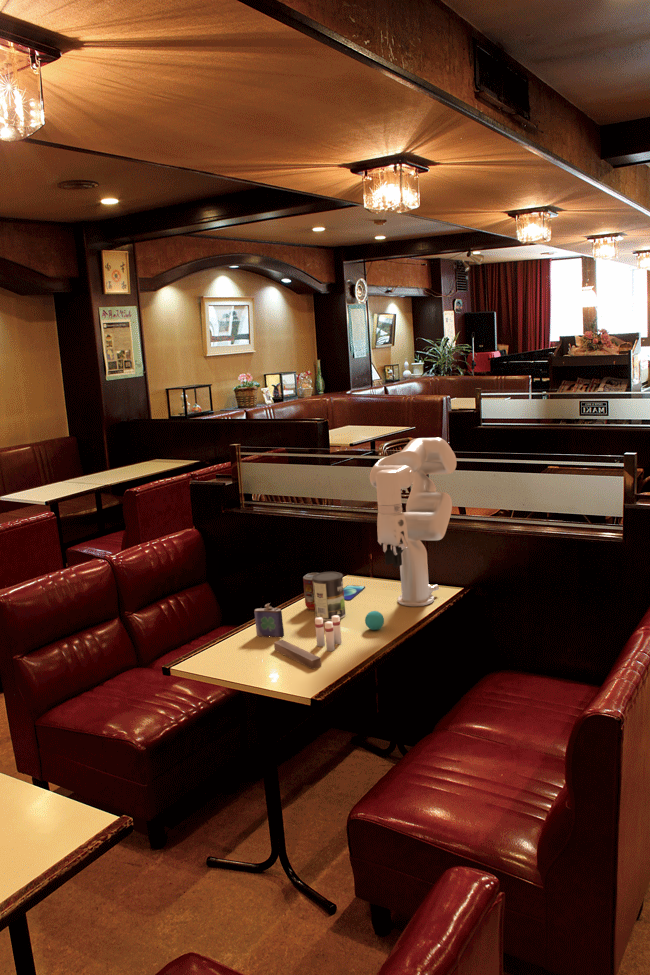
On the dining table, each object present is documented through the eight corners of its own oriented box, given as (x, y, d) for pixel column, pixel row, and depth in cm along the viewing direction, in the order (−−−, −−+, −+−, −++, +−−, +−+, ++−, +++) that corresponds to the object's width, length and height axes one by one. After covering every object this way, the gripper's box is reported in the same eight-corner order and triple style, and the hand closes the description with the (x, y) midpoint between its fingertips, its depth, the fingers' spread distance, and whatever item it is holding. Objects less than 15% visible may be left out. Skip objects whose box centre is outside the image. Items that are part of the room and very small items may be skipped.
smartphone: (331, 598, 269) (347, 585, 283) (331, 600, 270) (347, 587, 283) (350, 599, 266) (366, 586, 280) (351, 602, 266) (366, 588, 280)
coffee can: (348, 610, 256) (345, 571, 254) (342, 621, 246) (339, 580, 244) (318, 610, 258) (315, 571, 256) (312, 621, 249) (309, 580, 246)
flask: (255, 637, 239) (252, 605, 237) (259, 633, 242) (255, 602, 240) (282, 638, 236) (279, 605, 234) (285, 634, 239) (282, 602, 237)
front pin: (338, 640, 230) (336, 614, 228) (343, 643, 228) (341, 616, 226) (331, 643, 228) (329, 616, 227) (336, 645, 226) (334, 618, 225)
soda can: (302, 611, 259) (299, 577, 257) (311, 604, 266) (308, 571, 264) (320, 612, 256) (317, 578, 254) (329, 605, 263) (326, 572, 261)
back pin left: (331, 647, 225) (329, 620, 224) (336, 649, 223) (334, 622, 222) (325, 649, 224) (322, 622, 222) (329, 652, 222) (327, 624, 220)
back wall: (282, 647, 228) (282, 639, 228) (321, 666, 212) (320, 657, 212) (274, 650, 227) (273, 642, 226) (312, 669, 211) (312, 660, 210)
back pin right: (321, 643, 229) (319, 616, 228) (326, 645, 227) (324, 618, 226) (315, 645, 228) (313, 618, 226) (320, 647, 226) (317, 620, 224)
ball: (376, 624, 241) (375, 606, 240) (388, 629, 236) (387, 611, 235) (361, 629, 237) (360, 611, 236) (374, 634, 233) (372, 616, 232)
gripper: (416, 509, 231) (420, 566, 234) (382, 503, 244) (385, 557, 248) (398, 514, 227) (402, 572, 230) (364, 508, 240) (368, 563, 243)
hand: (393, 564), depth 239 cm, fingers open, 3 cm apart
